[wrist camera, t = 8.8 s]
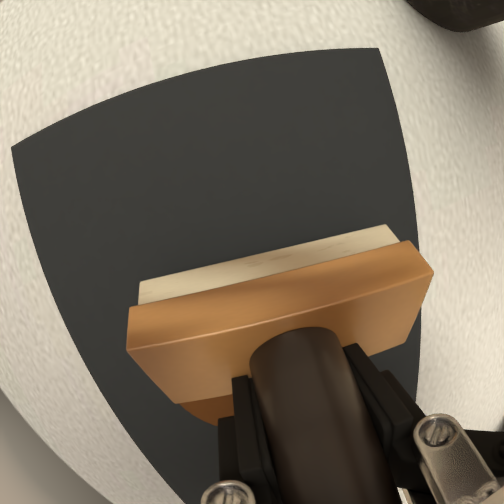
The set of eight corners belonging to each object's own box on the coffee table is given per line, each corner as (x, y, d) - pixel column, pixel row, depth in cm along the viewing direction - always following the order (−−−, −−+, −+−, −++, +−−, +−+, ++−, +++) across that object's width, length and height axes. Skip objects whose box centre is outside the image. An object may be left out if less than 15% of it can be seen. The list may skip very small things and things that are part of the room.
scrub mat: (188, 503, 16) (188, 508, 16) (15, 147, 10) (9, 147, 9) (405, 445, 17) (408, 450, 16) (374, 50, 10) (379, 47, 10)
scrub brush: (170, 343, 12) (196, 558, 6) (131, 278, 10) (139, 576, 3) (376, 292, 13) (466, 474, 6) (391, 217, 10) (535, 443, 3)
